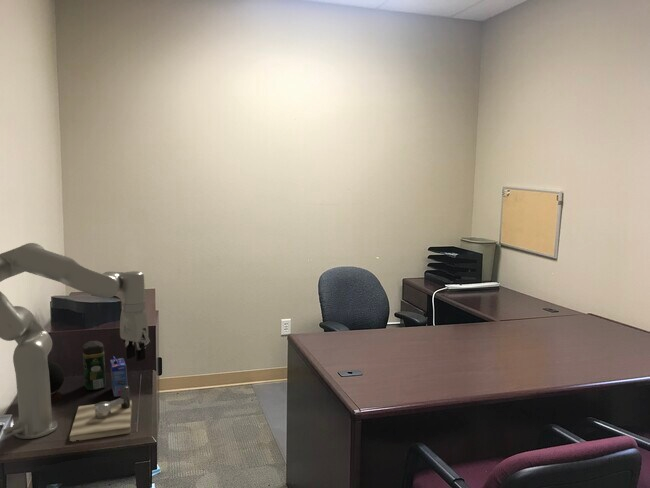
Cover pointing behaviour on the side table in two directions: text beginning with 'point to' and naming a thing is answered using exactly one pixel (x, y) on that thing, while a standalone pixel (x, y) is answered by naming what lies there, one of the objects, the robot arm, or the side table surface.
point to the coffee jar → (94, 365)
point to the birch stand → (100, 423)
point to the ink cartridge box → (118, 375)
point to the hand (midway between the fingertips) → (135, 358)
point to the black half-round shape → (55, 380)
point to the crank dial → (113, 403)
